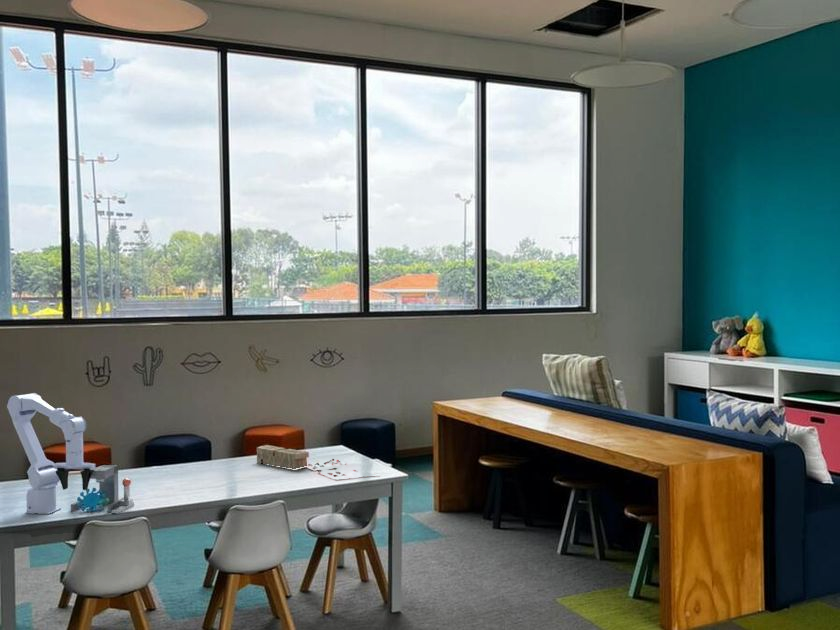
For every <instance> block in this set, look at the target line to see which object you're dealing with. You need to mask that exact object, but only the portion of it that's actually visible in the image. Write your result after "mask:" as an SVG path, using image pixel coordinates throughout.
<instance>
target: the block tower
mask: <svg viewBox="0 0 840 630" xmlns="http://www.w3.org/2000/svg"><path fill="white" fill-rule="evenodd" d="M309 455H310V453H309V451H306V450H298V449H294V448H293V449H292V448H288V449H286V448H285V447H281V446H280V447H279V446H275V445H270V444H264V445H260V446H257V447H256V464H258V463H263V464H269V465H274V466H280V467H286V468H292V469H296V468H300V467H304V466H307V462H308V461H307V459H308V458H309V457H310V456H309ZM263 464H262V465H263Z"/></svg>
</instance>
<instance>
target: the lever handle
mask: <svg viewBox="0 0 840 630" xmlns="http://www.w3.org/2000/svg"><path fill="white" fill-rule="evenodd" d="M131 484H132V481H131V479H130V478H124V479H123V480H122V485H123V497H124V500H122V501H121V505H130V504H132V503H133V502H134V501H133V498H132V499H131V498H130V496H131V492H130V490H131V489H130V487H131Z"/></svg>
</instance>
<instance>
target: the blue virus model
mask: <svg viewBox="0 0 840 630" xmlns="http://www.w3.org/2000/svg"><path fill="white" fill-rule="evenodd" d="M89 492H90V488H88V489H86V490H85V493H86V494H85V493H84V491H82V492H80V493H79V496H78V497H76V502H77V501H82V502H83V503H80V502H78V507H80V506H82V505H85V506H84V507H81V508H80V510H81V511H82V512H84V511H85V510H86V513H88V512H90V513H91V511H92V509H93V512H98V507H99V509H102V508H104V507H106V508H107V506H108V504H107V503H108V502H109V498H107V499H101V498H100V497H103V498H105V494H102V495H100V494H101V493H102V490H101V489H100V490H99V489H98V490H97V488H96V487H92V489H91V492H90V493H89ZM97 506H98V507H97Z"/></svg>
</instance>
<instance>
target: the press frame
mask: <svg viewBox="0 0 840 630" xmlns="http://www.w3.org/2000/svg"><path fill="white" fill-rule="evenodd" d="M92 479H94V480H95V483H99V489H98V491H99V490H100V489H101V490H102V493H101V494H99V495H102V494H105V498H103V497H100V498H101V499H107V498H109V502H108V503H111V504H107V513H111V514H112V513H116V514H115V515H117V514H118V515H119V514H120V513H122V512H123V511H125V509H126V510H127V508H128V509H129V508H131V507H133V506H134V505H135V502H134V501H133V503H132V504H130V505H121V501H122V500H124V496H123V497H121V498H119V465H117V464H103V465H99V466H97V467H95V469H94V472H93V474H92V476H91V478H90V480H92ZM78 502H80V503H83V502H82V501H77V500H76V501H75V502H73V503H71V504H70V511H71V512H76V511H78V510H80V509H81V507H85V505H82V506H80V507H78ZM79 508H80V509H79ZM77 509H78V510H77ZM75 510H76V511H75ZM121 511H122V512H121ZM119 512H120V513H119Z"/></svg>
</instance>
